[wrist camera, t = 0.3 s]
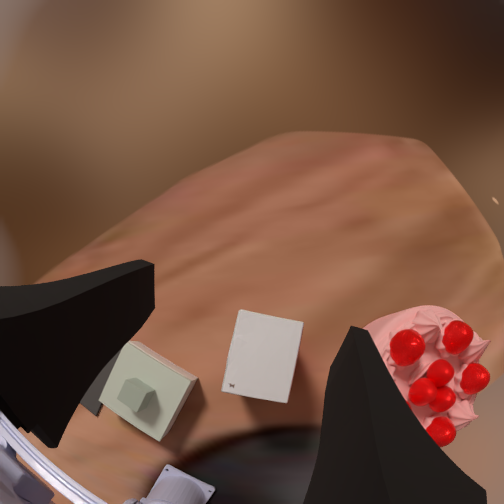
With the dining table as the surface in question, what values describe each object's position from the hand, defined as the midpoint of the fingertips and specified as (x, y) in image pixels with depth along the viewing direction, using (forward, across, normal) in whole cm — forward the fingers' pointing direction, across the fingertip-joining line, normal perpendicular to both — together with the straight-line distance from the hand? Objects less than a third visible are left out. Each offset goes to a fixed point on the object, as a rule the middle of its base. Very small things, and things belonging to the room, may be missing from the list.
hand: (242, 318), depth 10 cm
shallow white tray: (+12, +13, +28) cm, 33 cm away
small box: (+20, 0, +22) cm, 30 cm away
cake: (+22, -20, +22) cm, 37 cm away
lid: (+10, +13, +26) cm, 31 cm away
